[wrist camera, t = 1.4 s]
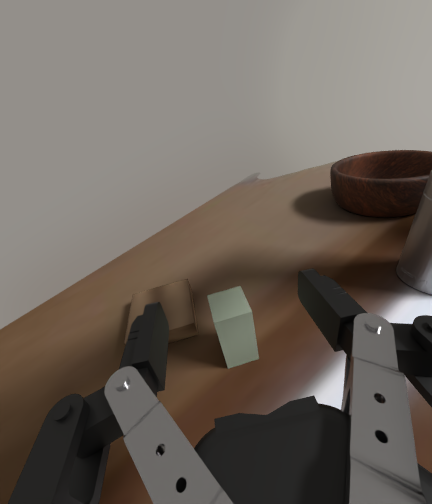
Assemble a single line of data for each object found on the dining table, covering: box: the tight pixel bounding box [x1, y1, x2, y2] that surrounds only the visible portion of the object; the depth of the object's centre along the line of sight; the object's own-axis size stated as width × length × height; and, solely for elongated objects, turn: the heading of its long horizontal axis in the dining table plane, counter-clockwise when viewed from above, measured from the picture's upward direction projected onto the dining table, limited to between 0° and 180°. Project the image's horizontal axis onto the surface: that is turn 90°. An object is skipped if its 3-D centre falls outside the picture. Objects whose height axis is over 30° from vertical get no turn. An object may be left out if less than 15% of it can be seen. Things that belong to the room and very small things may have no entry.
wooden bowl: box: [330, 150, 432, 217], centre depth 56 cm, size 25×25×10 cm
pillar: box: [207, 286, 259, 368], centre depth 29 cm, size 4×4×10 cm
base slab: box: [124, 279, 198, 346], centre depth 38 cm, size 11×11×3 cm
